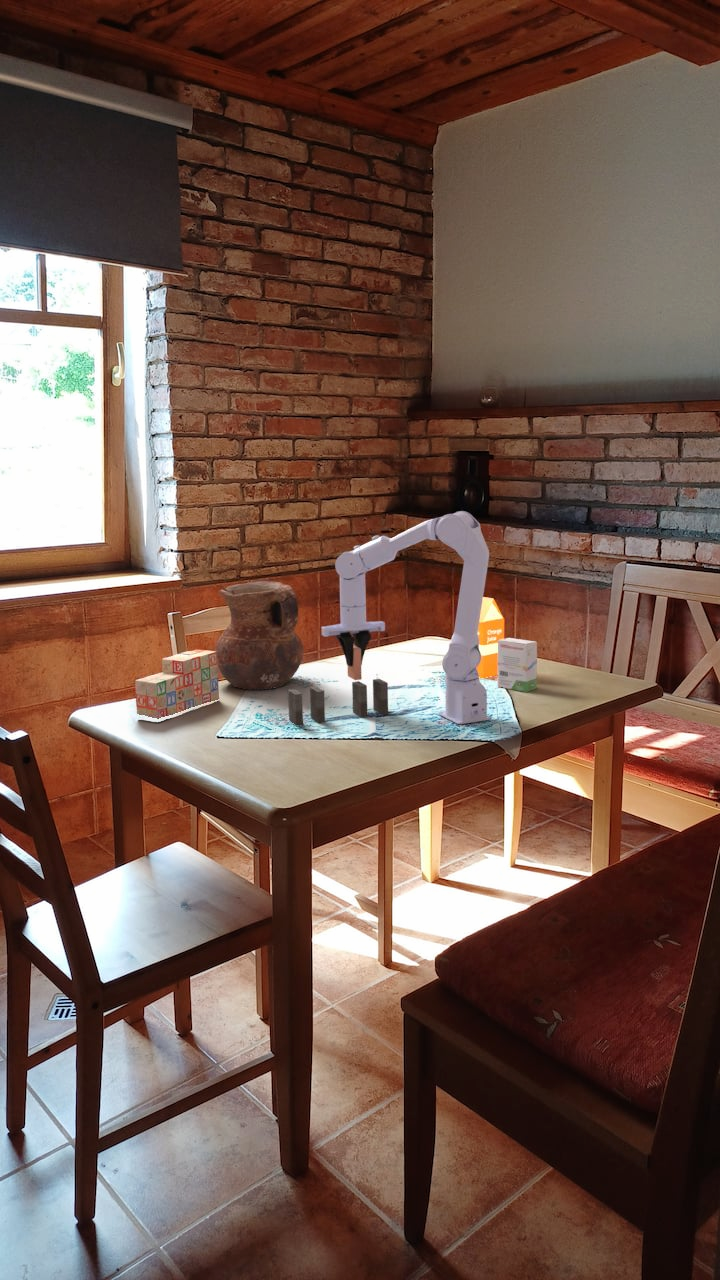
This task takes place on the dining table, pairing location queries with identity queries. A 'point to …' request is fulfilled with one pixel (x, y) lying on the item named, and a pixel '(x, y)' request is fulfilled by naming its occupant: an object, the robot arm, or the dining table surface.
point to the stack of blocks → (179, 684)
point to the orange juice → (489, 637)
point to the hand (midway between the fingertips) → (354, 664)
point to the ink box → (517, 664)
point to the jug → (260, 636)
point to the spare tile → (355, 665)
